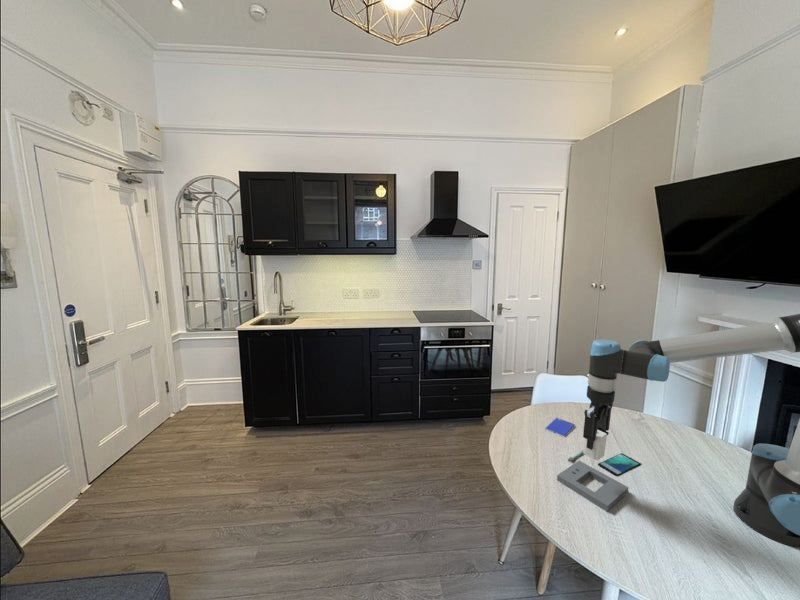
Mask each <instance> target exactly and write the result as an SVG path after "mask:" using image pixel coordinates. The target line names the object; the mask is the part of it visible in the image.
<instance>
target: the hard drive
mask: <svg viewBox="0 0 800 600" xmlns="http://www.w3.org/2000/svg"><path fill="white" fill-rule="evenodd" d="M575 427H576V424H575V423H574V422H573V423H572V422H570V421H567V420H564V419H561V418H559V417H555V418H554V419H553V420H552V421H551V422H550V423H549V424H548V425H547V426H546V427H545V428H544V430H545V431H547V430H548V432H550V433H552V432H553V434H556V435H557V436H560V437H562V438H566V436H568V434H569V433H570V432H571V431H572V430H573V429H574V428H575Z"/></svg>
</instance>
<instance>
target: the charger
mask: <svg viewBox="0 0 800 600" xmlns="http://www.w3.org/2000/svg"><path fill="white" fill-rule="evenodd" d="M607 436H608V435H607V434H606V433H604V432H602V431H600V430H597V434H596V439H595V440H597V443H596V453H595V459H594V460H595V461H599V460H601V459H602V458H604V457H605V451H606V444H607ZM583 440H584V441H583V450H582V451H583V454H584V455H585V452H586V442H587V439H586V438H584V439H583Z"/></svg>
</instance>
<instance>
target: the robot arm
mask: <svg viewBox="0 0 800 600" xmlns="http://www.w3.org/2000/svg"><path fill="white" fill-rule="evenodd" d="M776 351H777V352H778V351H787V352H789V353H791V354H794V353H795V354H796V353H800V313H797V314H792V315H791V314H790V315H787V316H781V317H780V316H779V317H775V318H774V319H773V321H771V322H767V323H766V322H765V323H760V324H753V325H746V326H741V327H736V328H735V327H734V328H728V329H722V330H715V331H709V332H704V333H703V332H702V333H696V334H690V335H689V334H688V335H683V336H676V337H670V338H664V339H657V340H650V341H649V340H646V339H645V340H643V339H639V340H636V341H634V342H633V343H632V344H631V345H630V347H629V349H628V350H627V349H622V348H621V344H620V343H619V342H618V341H615V340H610V339H602V338H601V339H595V340H593V341H592V343H591V350H590V355H589V366H588V367H589V368H588V370H589V371H588V374H587V377H588V379H587V388H586V397H587V398H588V400H590V404H589V407H588V408H589V409H584V422H583V425H584V426H583V434H582V437H583V438H584V439H585V438H586V439H587V442H586V452H585V454H584V455H585V456H587V457H588V458H591V459H593V460H595V453H596V443H597V440H595V439H596V434H597V430H600V431H602V432H604V433H606V434H607V436H609V432H608V431H609V429H610V423H611V417H612V416H611V414H612V408H613V406H614V402H615V398H616V397H615V396H616V395H615V394H616V391H615V390H616V388H617V379H618V374H619V375H625V376H627V377H633V378H639V379H643V380H648V381H651V382H652V381H653V382H654V381H655V382H662V383H664V382H667V381H668V379H669V375H670V368H671V364H672V363H681V362H689V361H690V362H691V361H699V360H707V359H715V358H724V357H734V356H742V355H750V354H751V355H752V354H760V353H761V354H762V353H768V352H776ZM791 440H792V441H791V443H790V447H789V448H788V447H784V446H780V445H777V444H769V443H756V444H755V445H753V447H752V451H751V452H750V453H751V456H750V461H749V467H748V473H747V480H746V486H745V488H744V489H743V490H742V491H741V492H740V493H739V494H738V496H737V497H736V498H735V500H734V502H733V507H732V509H733V512H734V514H735V515H736V517H737V518H738V517H739V518H740V519H741V520H740V519H739V518H738V519H739V520H740V521H742V523H744V522H745V523H746V524H747V527H749V526H750V527H749V528H751V529H752V528H753V529H752V530H754V531H755V530H756V532H757V533H759V534H761V535H762V534H763V535H762V536H764V535H765V536H764V537H766V536H767V538H769V539H771V540H774V541H776V542H778V543H781V544H785V545H786V546H787V545H788V546H792V547H796V548H800V418H799V419H798V422H797V426H796V428H795V432H794V434H793V437H792V439H791ZM745 523H744V524H745ZM746 524H745V525H746Z"/></svg>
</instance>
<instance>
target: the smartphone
mask: <svg viewBox="0 0 800 600" xmlns="http://www.w3.org/2000/svg"><path fill="white" fill-rule="evenodd" d="M597 466H598V467H599V468H601V469H604V470H605V471H606V472H607V473H610V474H612V475H613V476H615V477H620V476H621V475H623V474H625V473H628V472H629V471H631V470H634V469H636V468H637V467H640V466H641V462H639V461H638V460H636V459H634V458H632V457H630V456H628V455H626V454H624V453H622V452H621V453H619V454H616V455H614V456H612V457H609V458H608V459H605V460H603V461H601V462H598V464H597Z"/></svg>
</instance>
